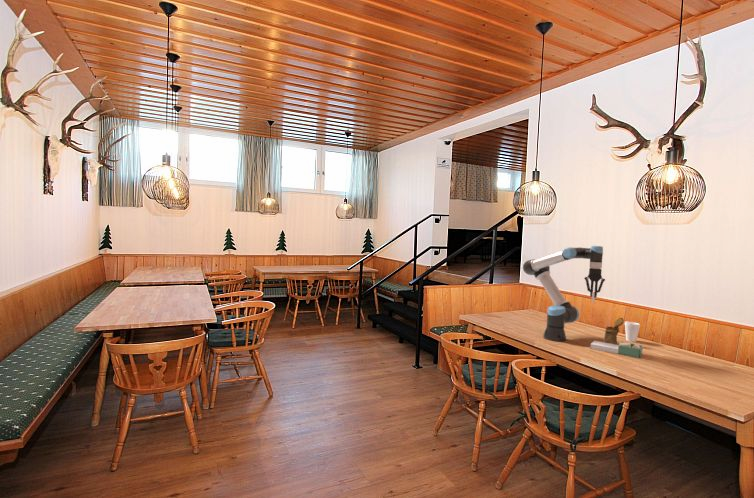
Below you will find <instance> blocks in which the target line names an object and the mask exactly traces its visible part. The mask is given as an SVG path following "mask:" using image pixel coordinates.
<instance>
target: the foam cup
mask: <svg viewBox="0 0 754 498" xmlns="http://www.w3.org/2000/svg"><path fill="white" fill-rule="evenodd" d="M640 328H641V324H640V323H638V322H634V321H624V329H625V330H624V331H625V340H626V342H627V341H628V342H630V343H631V342H632V343H633V342H634V343H636V342H637V339H638V335H639V332H640Z"/></svg>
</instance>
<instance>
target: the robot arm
mask: <svg viewBox="0 0 754 498" xmlns="http://www.w3.org/2000/svg"><path fill="white" fill-rule="evenodd" d="M603 255H604V247H603V246H601V245H591V246H590V248H589V247H588V248H587V247H566V248H563V250H560V251H557V252H554V253H551V254H547V255H545V256H543V257H539V258H532V259H530V260H526V261H525V262H524V263H523V265H522V269H523V272H524V273H525V274H526V275H529V276H534V278H535V279H536V280H537V281H539V283H540V284H541V285H542V287H543V288H544V290H545V291H546V293H547V295H548V297H549V298H550V300H551V302H552V303H553V305H550V306H548V307H547V311H546V314H547V316H546V328H545V329H544V332H543V335H542V337H543V338H544V339H545V340H549V341H553V342H565V341H566V340H567V335H566V331H565V324H572V323H574V322H575V323H576V321H577V320H578V319H579V317H580V311H579V309H578V308H577V307H576V306H573V305H572V304H571V302H570V301H568V300H566V298H565V297H564V295H563V294H562V292H561V291H560V288H559V287H558V286H557V284H556V282H555V281H554V279H553V278H552V276H551V271H550V268H551V266H553V265H556V264H557V265H558V264H560V263H563V262H565V261H569V260H572V259H586V260H587V259H588V260H589V269H588V270H589V271H588V275H587V276H585V277H584V280H585V284H586V289H587V292H589V293H590V295H589V296H590V297H591V303H595V301H596V300H595V298H597V297H598V293H600V292H601V291H602V287H603V284H604V282H606V279H605V278H603V277H602V268H603ZM589 282H590V283H589ZM598 283H600V284H598ZM598 285H599V286H598Z"/></svg>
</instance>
